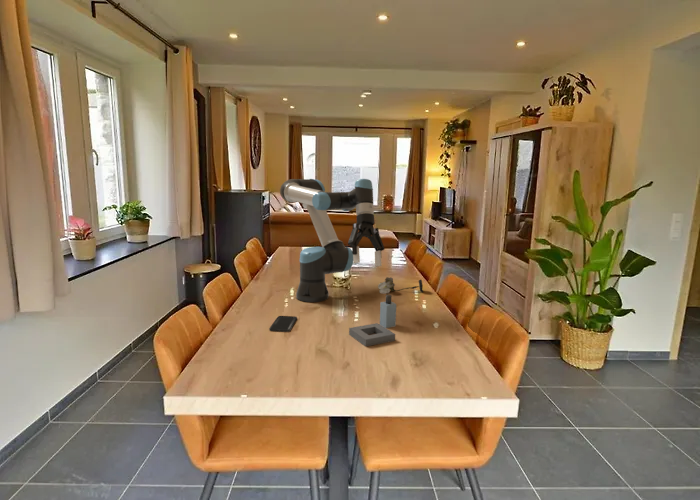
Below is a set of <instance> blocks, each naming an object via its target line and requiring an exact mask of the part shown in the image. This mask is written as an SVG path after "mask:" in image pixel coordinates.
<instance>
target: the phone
mask: <svg viewBox="0 0 700 500" xmlns="http://www.w3.org/2000/svg"><path fill="white" fill-rule="evenodd" d="M297 319H298V317H297V316H295V315H293V316H292V315H291V316H289V315H278V316H277V317H276V318H275V320H274V321H273V322H272V323H271V325H270V326H269V328H268V329H269V330H268V331H269V332H276V333H277V332H280V333H281V332H283V333H289V332H290V331H291V330H292V329H293V326H294V325H295V324H296V321H297Z"/></svg>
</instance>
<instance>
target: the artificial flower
mask: <svg viewBox="0 0 700 500" xmlns="http://www.w3.org/2000/svg"><path fill="white" fill-rule="evenodd" d="M395 286H396V284H395V283H394V278H393V277H392V276H391V277H389V276H388V277H387V276H386V278H385V279H384V281H383V282H380V283H378V285H377V288H378V289H379V290H378V291H379V293H380V294H383V295H385V294H390V291H391V292H400V291H403V290H409V289H413V290H414V289H417V288H419V291H420V292H421V293H424V290H423V286H424V285H423V281H422V279H419V280H418V286H417V285H416V286H413V287H405V288H401V289H397V290H396V289H395Z"/></svg>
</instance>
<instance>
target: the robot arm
mask: <svg viewBox="0 0 700 500" xmlns="http://www.w3.org/2000/svg"><path fill="white" fill-rule="evenodd" d="M373 188H374V187H373V182H372V180H370V179H369V178H359V179H357V180H356V181H355V182H354V188H353V189H352V190H350V191H337V192H336V191H335V192H333V191H326V189H325V186H324V183H323V182H322V181H321V180H319V179H314V178H309V179H303V178H301V179H300V178H297V179H296V178H291V179H287V180H285V181H284V182H283V183H282V184H281V186H280V188H279V194H280V196H281V198H282V199H283V200H284V201H286V202H288V203H300V204H301V205H302V207H303V209H305V210H307V213H308V214H309V216H310V219H311V223H312V224H313V227H314V230H315V232H316V235H317V236H318V239H319V242H320V244H321V246H311V247H307V248H304V249H302V250H301V251H300V253H299V284H298V287H297V290H296V292H295V293H296V295H295V298H296V299H297V300H298V301H301V302H306V303H318V302H319V303H320V302H323V301H324V302H325V301H326V300H329V295H330V294H329V293H330V292H329V289H328V287H327V283H326V275H329V274H336V273H343V272H347V271H349V270H350V269H351V268H352V266H353V265H354V264H358V263H360V258H361V257H360V256H361V255H360V246H358V245H359V244H360V242H361V241H362V238H363V237H364V238H367V240H369V241H370V243H371V244H372V246H373V248H374V250H375V251H374V262H375V265H374V266H375V267H382V251H384V250H385V246H384V243H383V240H382V238H381V235H380V230H379V228H378V227H376V228H374V224H375V222H376V221H375V215H374V214H375V211H374V189H373ZM354 209H355V212H356V213H355V215H356V223H353V224H352V229H351V233H350V236H349V239H348V242H347V244H348V245H349V246H345V244H344V241H342V240H340V239H339V237H338V236H337V233H336V231H335V228H334V226H333V223H332V222H331V219H330V217H329V214H328V212H327V211H328V210H330V211H332V210H342V211H343V212H349V211H352V210H354Z"/></svg>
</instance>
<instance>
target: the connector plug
mask: <svg viewBox="0 0 700 500" xmlns="http://www.w3.org/2000/svg"><path fill="white" fill-rule="evenodd" d="M379 305H380V307H379V308H380V309H379V324H380V325H381V326H383V327H385V328H386V329H389V328H395V327H396V325H397V324H396V323H397V321H396V320H397V303H396V302H393V301H392V294H386V295H385V301H380V304H379Z"/></svg>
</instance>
